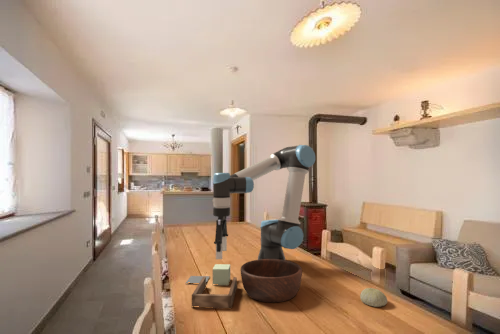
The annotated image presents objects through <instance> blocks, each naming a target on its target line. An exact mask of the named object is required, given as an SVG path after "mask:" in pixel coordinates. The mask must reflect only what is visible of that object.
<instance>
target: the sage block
mask: <svg viewBox="0 0 500 334" xmlns="http://www.w3.org/2000/svg"><path fill="white" fill-rule="evenodd" d="M229 282H230V283H231V264H230V263H229V264H228V263H227V264H223V263H222V264H220V263H219V264H217V263H215V264H214V266H213V267H212V285H213V284H218V285H217V286H229V285H230V283H229Z"/></svg>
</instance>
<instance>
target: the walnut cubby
mask: <svg viewBox="0 0 500 334" xmlns="http://www.w3.org/2000/svg"><path fill="white" fill-rule="evenodd" d="M237 279H238V278H237V276H234V277H233V278H232V282H231V285H230V287H229V291H228V294H227V293H226V294H221V293H217V294H215V293H212V294H211V293H204V292H205V290H206V288H205V287H207V283H206V277H203V278H202V279H201V281H200V283H199V284H197V286H196V288H195V289H194V291H193V292H192V294H191V307H192V306H199V307H213V308H212V309H223V308H231V309H232V308H233V305H234V299H235V295H236V292H237V287H238V286H237V284H238V283H237ZM204 289H205V290H204ZM203 291H204V292H203ZM202 293H203V294H202Z"/></svg>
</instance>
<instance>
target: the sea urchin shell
mask: <svg viewBox="0 0 500 334" xmlns="http://www.w3.org/2000/svg"><path fill="white" fill-rule="evenodd" d="M359 297H360V301H361V302H362V303H363V304H364V305H366V306H367V305H368V306H370V307H376V308H381V307H384V306H386V304H388V298H387V296H386V294H385V293H383V291H381V290H379V289H377V288H372V287H366V288H364V289H363V290H361V293H360V295H359Z"/></svg>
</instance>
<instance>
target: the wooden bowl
mask: <svg viewBox="0 0 500 334" xmlns="http://www.w3.org/2000/svg"><path fill="white" fill-rule="evenodd" d="M302 277H303V268H302V267H301V266H300V265H299V264H298V263H296V262H293V261H290V260H286V259H285V260H280V259H259V260H258V259H255V260H251V261H247V262H245V263H244V264H242V265H241V266H240V278H241V282H242V286H243V289H244V292H246V294H247V296H249V297H250V298H252V299H253V300H255V301H258V302H262V303H263V302H264V303H282V302H287V301H290V300H291V299H293V298H294V297H296V295H297V293H298V292H299V290H300V287H301V282H302Z"/></svg>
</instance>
